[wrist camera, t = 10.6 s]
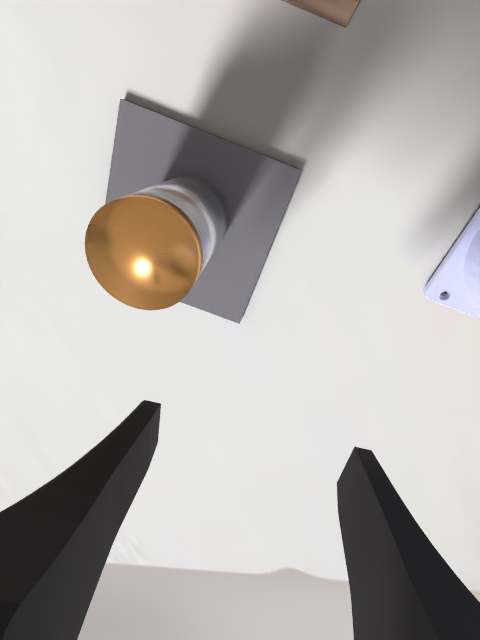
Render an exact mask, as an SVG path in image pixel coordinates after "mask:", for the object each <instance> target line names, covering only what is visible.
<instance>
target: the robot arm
mask: <svg viewBox="0 0 480 640" xmlns="http://www.w3.org/2000/svg"><path fill="white" fill-rule="evenodd" d="M444 291H447V294H446V295H445V296H444V297H439V296H440V294H441V293H442V292H444ZM424 294H425V296H426V297H427V298H428V299H429V300H431V301H434V302H437V303H439V304H442V305H444V306H447V307H450V308H452V309H455V310H457V311H460V312H463V313H465V314H468V315H470V316H473V317H476V318H478V319H480V208H479V209H478V211H477V212H476V213H475V215H474V216H473V218H472V219H471V221H470V222H469V224H468V225H467V227H466V228H465V230H464V231H463V232H462V234H461V235H460V237H459V238H458V240H457V241H456V243H455V244H454V246H453V247H452V248H451V250H450V251H449V253H448V254H447V256H446V257H445V259H444V260H443V262H442V263H441V265H440V266H439V267H438V269H437V270H436V272H435V273H434V275H433V276H432V278H431V279H430V281H429V282H428V283H427V285H426V286H425V289H424ZM160 409H161V404H160V403H155V402H151V401H146V400H144V401H142V402H141V403H140V404H139V405H138V406H137V407H136V409H135V410H134V411H133V412H132V413H131V414H130V415H129V416H128V417H127V418H126V419H125V420H124V421H123V422H122V423H121V424H120V425H119V426H117V427H116V428H115V429H114V430H113V431H112V432H111V433H110V434H109V435H108V436H107V437H105V438H104V439H103V440H102V441H101V442H100V443H99V444H98V445H96V446H95V447H94V448H93V449H91V450H90V451H89V452H88V453H87V454H85V455H84V456H83V457H82V458H81V459H79V460H78V461H77V462H75V463H74V464H73V465H72V466H70V467H69V468H68V469H66V470H65V471H64V472H62V473H61V474H59V475H58V476H57V477H55V478H54V479H52V480H51V481H49V482H48V483H46V484H45V485H43V486H42V487H40V488H39V489H37V490H36V491H34V492H33V493H31V494H30V495H28V496H27V497H25V498H23V499H22V500H20V501H18V502H17V503H15V504H13V505H12V506H10V507H8V508H6V509H5V510H3V511H1V512H0V640H77V638H78V635H79V633H80V630H81V627H82V624H83V621H84V619H85V616H86V613H87V610H88V608H89V605H90V602H91V600H92V597H93V594H94V592H95V589H96V586H97V583H98V581H99V578H100V575H101V573H102V570H103V568H104V565H105V562H106V560H107V557H108V555H109V552H110V549H111V547H112V544H113V542H114V540H115V537H116V535H117V533H118V530H119V528H120V526H121V524H122V522H123V520H124V518H125V516H126V514H127V512H128V510H129V508H130V506H131V504H132V502H133V499H134V497H135V495H136V493H137V491H138V489H139V487H140V485H141V483H142V481H143V479H144V477H145V475H146V472H147V470H148V468H149V465H150V463H151V460H152V457H153V454H154V451H155V449H156V446H157V443H158V433H159V421H160ZM337 498H338V514H339V521H340V527H341V534H342V540H343V546H344V553H345V559H346V565H347V571H348V578H349V584H350V593H351V602H352V616H353V629H354V640H480V602H479V601H478V600H477V599H476V598H475V597H474V595H472V593H471V592H470V591H469V590H468V589H467V587H466V586H465V585H464V584H463V583H462V582H461V580H460V579H459V578H458V577H457V575H456V574H455V573H454V572H453V570H452V569H451V568H450V567H449V565H448V564H447V563H446V562H445V560H444V559H443V558H442V557H441V555H440V554H439V553H438V551H437V550H436V549H435V547H434V546H433V545H432V543H431V542H430V541H429V539H428V538H427V536H426V535H425V534H424V532H423V531H422V529H421V528H420V527H419V525H418V524H417V522H416V521H415V519H414V518H413V516H412V515H411V513H410V512H409V510H408V509H407V507H406V506H405V504H404V503H403V501H402V499H401V498H400V496H399V495H398V493H397V492H396V490H395V488H394V487H393V485H392V484H391V482H390V480H389V479H388V477H387V475H386V474H385V472H384V470H383V469H382V467H381V465H380V464H379V462H378V460H377V459H376V457H375V456H374V454H373V452H372V451H371V450H367V449H362V448H358V447H354V449H353V451H352V453H351V455H350V457H349V459H348V461H347V463H346V465H345V468H344V470H343V472H342V474H341V476H340V478H339V480H338V482H337Z"/></svg>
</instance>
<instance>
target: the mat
mask: <svg viewBox="0 0 480 640" xmlns="http://www.w3.org/2000/svg"><path fill="white" fill-rule="evenodd" d="M300 173H301V170H300V169H297V168H295V167H292V166H290V165H287V164H285V163H282V162H280V161H277V160H275V159H272V158H270V157H267V156H265V155H262V154H259V153H257V152H254V151H252V150H249V149H247V148H244V147H242V146H239V145H237V144H234V143H232V142H229V141H227V140H224V139H222V138H219V137H217V136H214V135H212V134H209V133H207V132H204V131H202V130H199V129H197V128H194V127H192V126H189V125H187V124H184V123H182V122H179V121H177V120H174V119H172V118H169V117H167V116H164V115H162V114H159V113H157V112H154V111H152V110H149V109H147V108H144V107H142V106H139V105H137V104H134V103H132V102H129V101H127V100H124V99H120V105H119V112H118V119H117V126H116V133H115V140H114V147H113V154H112V161H111V168H110V175H109V182H108V189H107V196H106V203H105V205H106V204H107V203H109V202H111V201H113V200H116V199H119V198H121V197H124V196H127V195H130V194H132V193H135V192H138V191H141V190H143V189H146V188H149V187H152V186H154V185H157V184H160V183H163V182H165V181H168V180H171V179H174V178H177V177H180V176H195V177H198V178H201V179H203V180H205V181H207V182H209V183H210V184H211V185H213V186H214V187H215V188H216V189H217V190H218V191H219V193H220V194H221V196H222V197H223V199H224V201H225V204H226V207H227V211H228V226H227V230H226V233H225V235H224V237H223V239H222V240H221V242H220V244H219V245H218V247H217V248H216V250H215V252H214V253H213V255H212V256H211V258H210V260H209V261H208V263H207V264H206V266H205V268H204V269H203V271H202V272H201V274H200V276H199V277H198V279H197V281H196V282H195V284H194V285H193V287H192V289H191V290H190V291H189V293H188V294H187V295H186V296H185V297H184V298H183V299H182V300H181V301H179V302H182V303H185V304H187V305H190V306H193V307H196V308H198V309H201V310H204V311H206V312H209V313H212V314H215V315H217V316H220V317H223V318H225V319H228V320H231V321H234V322H236V323H240V321H241V319H242V316H243V314H244V311H245V309H246V306H247V304H248V301H249V299H250V296H251V294H252V291H253V289H254V287H255V284H256V282H257V279H258V277H259V274H260V272H261V269H262V267H263V264H264V262H265V259H266V257H267V254H268V252H269V250H270V247H271V245H272V242H273V240H274V237H275V235H276V232H277V230H278V227H279V225H280V222H281V220H282V217H283V215H284V213H285V210H286V208H287V205H288V203H289V200H290V198H291V195H292V193H293V190H294V188H295V185H296V183H297V180H298V178H299V176H300Z"/></svg>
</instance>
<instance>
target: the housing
mask: <svg viewBox="0 0 480 640" xmlns="http://www.w3.org/2000/svg"><path fill="white" fill-rule="evenodd" d="M283 1H285V2H287V3H290V4H292V5H294V6H297V7H299V8H301V9H304V10H306V11H308V12H311V13H313V14H315V15H318V16H320V17H322V18H325V19H327V20H329V21H332V22H334V23H336V24H339V25H341V26H343V27H346V26H347V24H348V22H349V20H350V18H351V16H352V15H353V13H354V11H355V9H356V7H357V5H358V3H359V1H360V0H283Z"/></svg>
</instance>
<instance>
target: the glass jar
mask: <svg viewBox="0 0 480 640" xmlns="http://www.w3.org/2000/svg"><path fill="white" fill-rule="evenodd" d="M227 226H228V211H227V207H226V204H225V201H224V199H223V197H222V196H221V194H220V193H219V191H218V190H217V189H216V188H215V187H214V186H213V185H211V184H210V183H209V182H207V181H205V180H203V179H201V178H198V177H195V176H180V177H177V178H174V179H171V180H168V181H165V182H163V183H160V184H157V185H154V186H152V187H149V188H146V189H143V190H141V191H138V192H135V193H132V194H130V195H127V196H124V197H121V198H119V199H116V200H113V201H111V202H109V203H107V204H106V205H104V206H103V207H101V208H100V209H99V210H98V211H97V212H96V213H95V215H94V216H93V217H92V219H91V221H90V223H89V225H88V228H87V231H86V237H85V251H86V257H87V261H88V264H89V266H90V269H91V271H92V273H93V275H94V276H95V278H96V279H97V281H98V282H99V283H100V285H101V286H102V287H103V288H104V289H105V290H106V291H107V292H108V293H109V294H110V295H112V296H113V297H114V298H116V299H117V300H119V301H120V302H122V303H124V304H126V305H129V306H131V307H134V308H138V309H143V310H160V309H164V308H168V307H170V306H173V305H174V304H176V303H178V302H179V301H181V300H182V299H183V298H184V297H185V296H186V295H187V294H188V293H189V291H190V290H191V289H192V287H193V285H194V284H195V282H196V281H197V279H198V277H199V276H200V274H201V272H202V271H203V269H204V268H205V266H206V264H207V263H208V261H209V260H210V258H211V256H212V255H213V253H214V252H215V250H216V248H217V247H218V245H219V244H220V242H221V240H222V239H223V237H224V235H225V233H226V230H227Z"/></svg>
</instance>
